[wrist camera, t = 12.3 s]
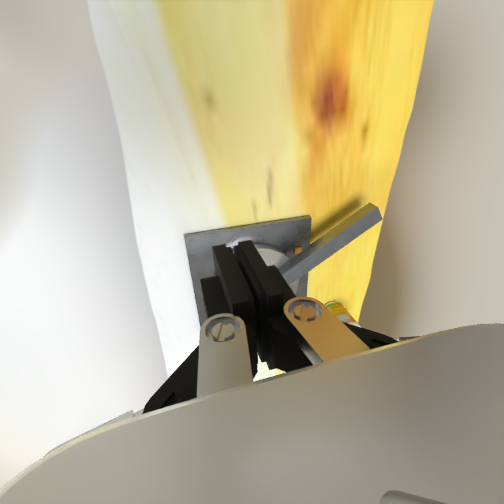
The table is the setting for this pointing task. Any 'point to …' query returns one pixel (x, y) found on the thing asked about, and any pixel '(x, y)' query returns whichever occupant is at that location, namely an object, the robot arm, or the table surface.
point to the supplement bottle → (341, 313)
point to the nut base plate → (268, 233)
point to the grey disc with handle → (320, 246)
